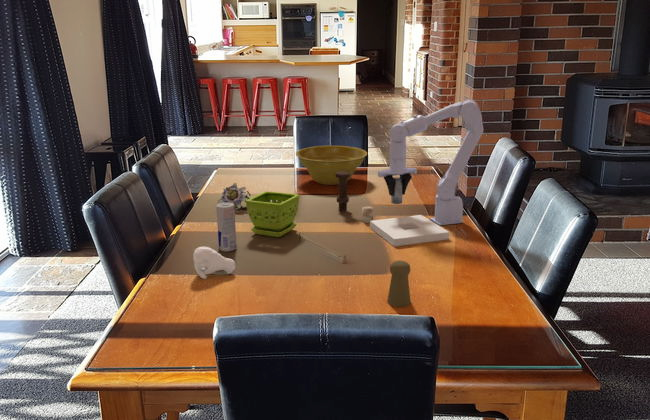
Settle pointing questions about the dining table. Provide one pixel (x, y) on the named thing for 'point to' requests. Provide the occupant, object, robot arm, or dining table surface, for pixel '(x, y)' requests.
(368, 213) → the short pin
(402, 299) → the pepper shaker
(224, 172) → the dining table surface
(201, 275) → the white rounded lumpy piece
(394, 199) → the long pin
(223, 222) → the beverage can
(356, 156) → the planter bowl
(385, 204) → the dining table surface
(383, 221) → the hole plate
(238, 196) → the passion flower
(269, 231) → the flower pot
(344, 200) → the bolt
